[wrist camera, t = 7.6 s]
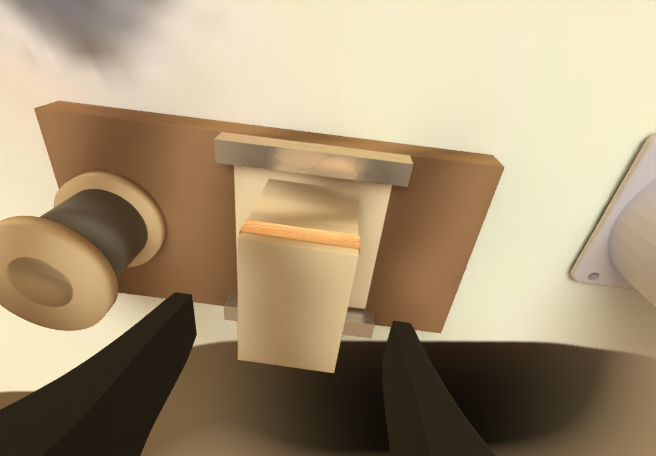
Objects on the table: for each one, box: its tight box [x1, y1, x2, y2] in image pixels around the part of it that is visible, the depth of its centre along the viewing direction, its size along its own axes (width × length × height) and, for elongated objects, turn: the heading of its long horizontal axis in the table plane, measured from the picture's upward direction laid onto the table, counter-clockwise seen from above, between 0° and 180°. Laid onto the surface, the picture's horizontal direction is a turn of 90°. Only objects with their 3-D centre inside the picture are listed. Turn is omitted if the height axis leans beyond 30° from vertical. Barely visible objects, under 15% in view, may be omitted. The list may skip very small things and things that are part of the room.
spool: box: [0, 170, 167, 331], centre depth 16 cm, size 5×5×5 cm
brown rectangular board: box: [34, 101, 504, 338], centre depth 18 cm, size 20×10×2 cm, turn 84°
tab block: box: [238, 178, 360, 373], centre depth 15 cm, size 4×6×5 cm
